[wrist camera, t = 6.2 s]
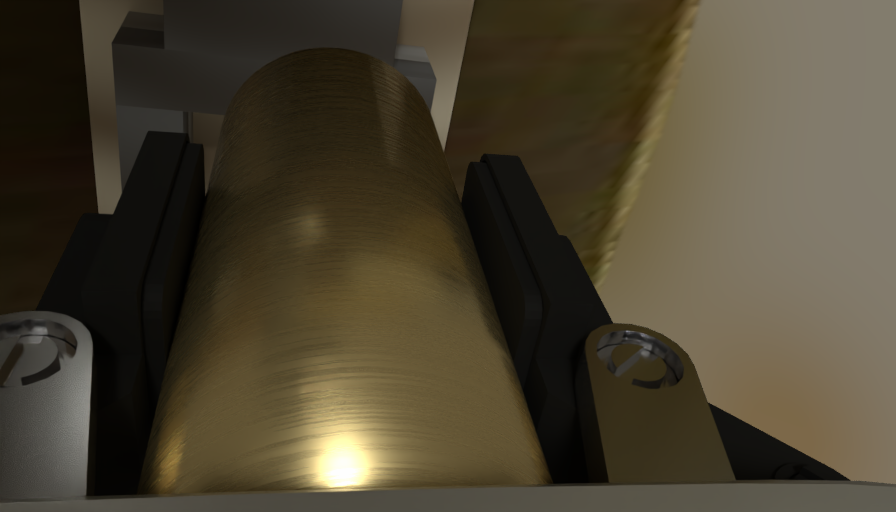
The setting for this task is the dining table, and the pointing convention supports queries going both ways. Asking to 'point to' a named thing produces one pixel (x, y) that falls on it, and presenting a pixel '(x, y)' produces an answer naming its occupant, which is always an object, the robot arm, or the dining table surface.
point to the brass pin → (336, 303)
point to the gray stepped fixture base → (241, 62)
